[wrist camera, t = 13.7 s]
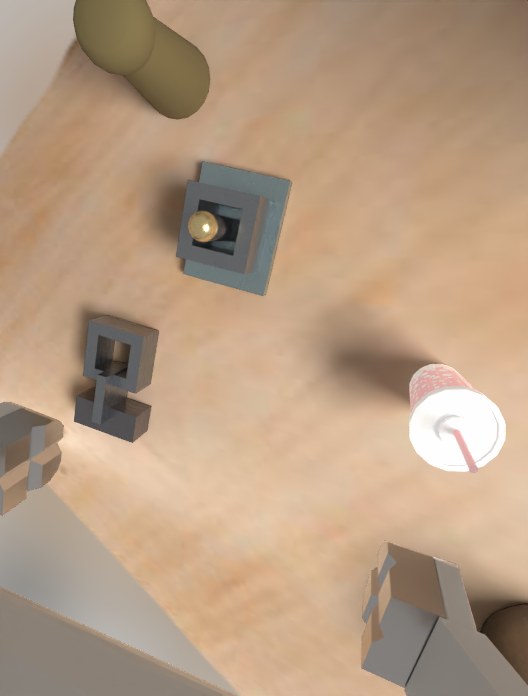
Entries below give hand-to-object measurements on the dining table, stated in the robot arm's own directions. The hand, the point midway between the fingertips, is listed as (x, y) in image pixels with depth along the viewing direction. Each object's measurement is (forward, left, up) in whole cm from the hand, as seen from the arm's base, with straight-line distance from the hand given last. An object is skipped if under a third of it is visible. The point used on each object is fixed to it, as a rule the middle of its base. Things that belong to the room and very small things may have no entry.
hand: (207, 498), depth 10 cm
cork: (-16, -18, -29) cm, 38 cm away
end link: (-5, -10, -28) cm, 30 cm away
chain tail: (+11, -19, -29) cm, 37 cm away
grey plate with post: (-5, -10, -29) cm, 31 cm away
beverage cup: (+4, +11, -29) cm, 32 cm away
